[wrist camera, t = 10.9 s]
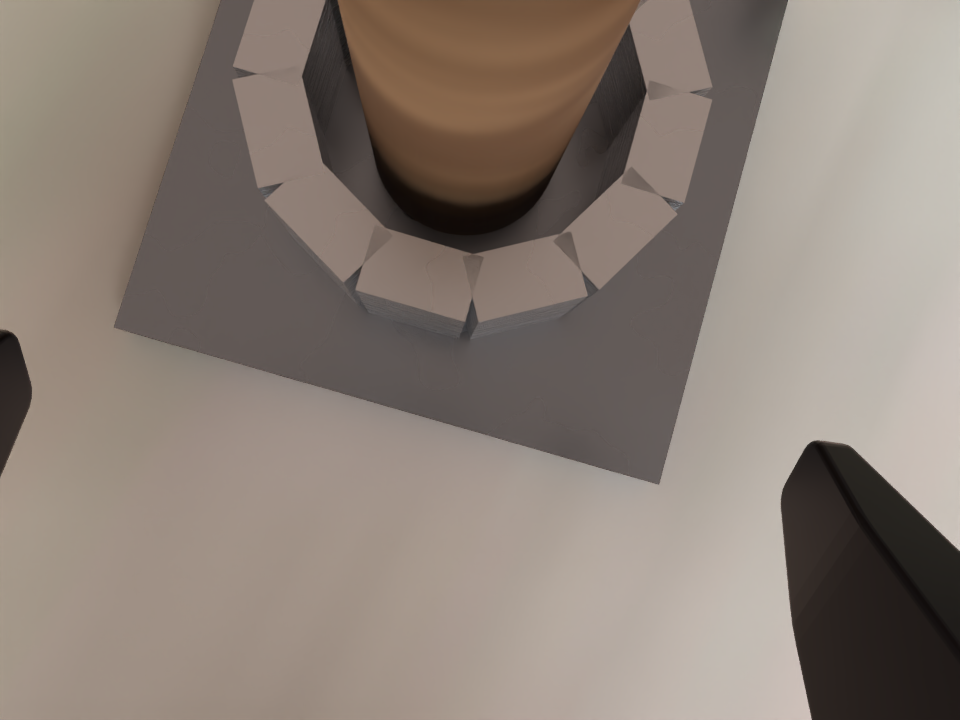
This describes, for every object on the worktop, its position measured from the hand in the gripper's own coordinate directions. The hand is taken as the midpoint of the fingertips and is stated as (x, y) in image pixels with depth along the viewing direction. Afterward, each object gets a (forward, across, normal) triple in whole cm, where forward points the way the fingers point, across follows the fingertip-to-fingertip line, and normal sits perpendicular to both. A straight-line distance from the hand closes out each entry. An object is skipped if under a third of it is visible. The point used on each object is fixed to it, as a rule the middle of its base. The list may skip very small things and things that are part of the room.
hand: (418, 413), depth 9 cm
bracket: (+11, 0, +2) cm, 11 cm away
